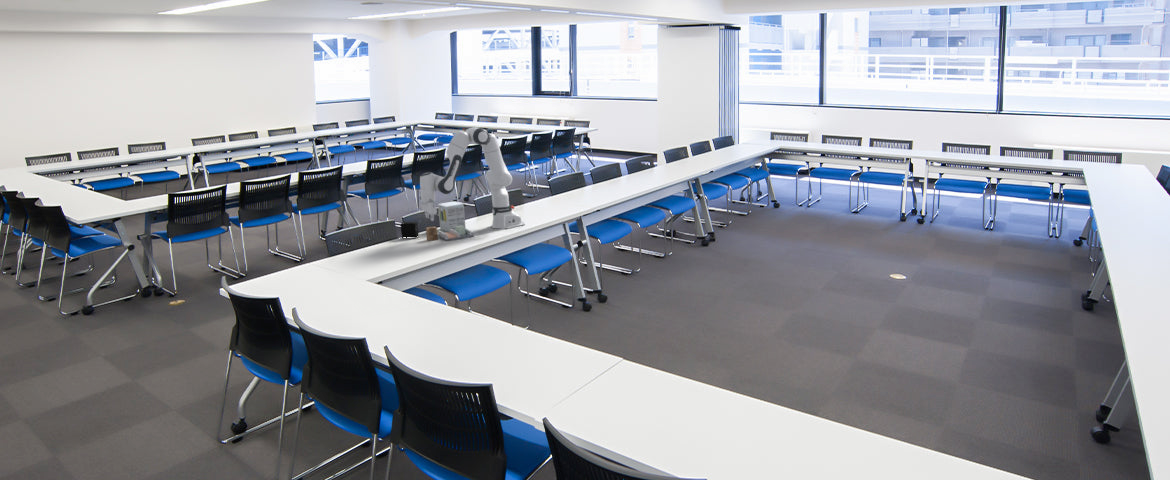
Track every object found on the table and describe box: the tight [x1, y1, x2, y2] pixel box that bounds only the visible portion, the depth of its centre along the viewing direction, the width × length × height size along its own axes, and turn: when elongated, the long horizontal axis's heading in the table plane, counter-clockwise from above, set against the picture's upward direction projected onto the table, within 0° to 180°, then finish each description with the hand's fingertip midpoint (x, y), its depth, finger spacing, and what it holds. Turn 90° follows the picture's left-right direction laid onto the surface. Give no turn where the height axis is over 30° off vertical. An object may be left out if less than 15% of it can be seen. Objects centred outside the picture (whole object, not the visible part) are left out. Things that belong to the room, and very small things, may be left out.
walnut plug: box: [425, 226, 439, 242], centre depth 486 cm, size 6×4×8 cm, turn 119°
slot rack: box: [437, 225, 474, 242], centre depth 493 cm, size 19×18×6 cm
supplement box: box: [437, 200, 467, 233], centre depth 512 cm, size 13×13×18 cm
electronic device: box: [400, 221, 420, 239], centre depth 494 cm, size 4×10×10 cm, turn 78°
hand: (429, 219), depth 484 cm, fingers open, 8 cm apart
